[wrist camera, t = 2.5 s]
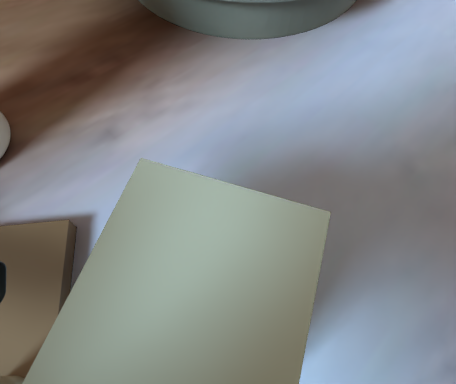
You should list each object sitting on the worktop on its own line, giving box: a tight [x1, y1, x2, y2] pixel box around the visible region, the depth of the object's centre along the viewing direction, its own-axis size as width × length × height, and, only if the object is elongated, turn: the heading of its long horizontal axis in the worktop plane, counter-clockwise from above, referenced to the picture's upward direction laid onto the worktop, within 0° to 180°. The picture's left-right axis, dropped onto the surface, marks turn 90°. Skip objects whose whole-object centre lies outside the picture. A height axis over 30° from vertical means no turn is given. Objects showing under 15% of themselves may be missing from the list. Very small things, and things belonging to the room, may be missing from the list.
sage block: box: [22, 158, 331, 384], centre depth 11 cm, size 5×4×10 cm
